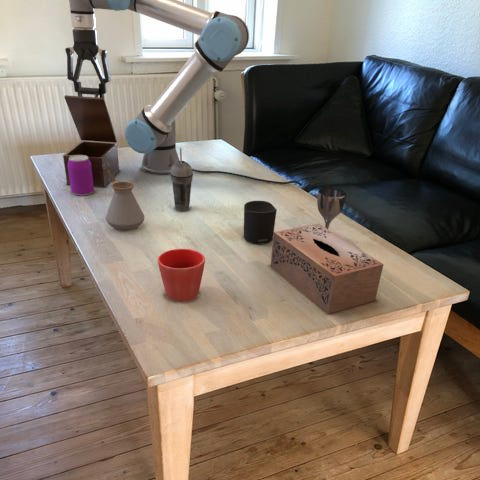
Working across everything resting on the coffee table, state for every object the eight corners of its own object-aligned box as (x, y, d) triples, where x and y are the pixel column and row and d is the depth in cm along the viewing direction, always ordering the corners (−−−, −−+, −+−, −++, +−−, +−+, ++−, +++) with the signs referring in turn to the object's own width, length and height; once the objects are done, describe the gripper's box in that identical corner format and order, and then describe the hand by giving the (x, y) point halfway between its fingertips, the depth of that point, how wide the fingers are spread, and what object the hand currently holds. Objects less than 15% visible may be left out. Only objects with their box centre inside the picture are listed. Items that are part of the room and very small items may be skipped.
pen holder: (237, 241, 150) (239, 209, 145) (249, 229, 157) (251, 198, 152) (267, 247, 147) (270, 215, 142) (278, 235, 155) (281, 204, 149)
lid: (103, 99, 173) (107, 84, 176) (64, 97, 174) (68, 82, 177) (116, 142, 192) (120, 128, 195) (81, 140, 192) (84, 126, 195)
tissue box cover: (375, 300, 126) (383, 264, 120) (328, 313, 120) (334, 276, 114) (314, 256, 144) (318, 223, 139) (270, 266, 138) (273, 232, 133)
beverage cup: (195, 205, 172) (195, 144, 161) (191, 213, 166) (190, 151, 155) (173, 203, 172) (172, 143, 161) (169, 211, 166) (167, 149, 155)
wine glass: (340, 237, 156) (348, 190, 147) (335, 248, 149) (343, 199, 141) (314, 233, 158) (321, 185, 149) (309, 243, 151) (315, 194, 143)
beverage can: (87, 187, 182) (83, 152, 175) (98, 193, 177) (94, 158, 170) (67, 191, 177) (62, 156, 170) (78, 198, 172) (73, 162, 166)
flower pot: (160, 283, 128) (158, 247, 122) (204, 283, 129) (204, 248, 124) (158, 305, 119) (156, 268, 114) (205, 305, 120) (205, 268, 115)
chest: (104, 187, 182) (101, 158, 176) (67, 184, 183) (62, 155, 177) (119, 170, 198) (117, 143, 192) (84, 168, 199) (81, 140, 193)
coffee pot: (150, 230, 154) (148, 181, 145) (113, 237, 149) (108, 186, 140) (126, 206, 169) (122, 160, 160) (91, 211, 164) (86, 164, 155)
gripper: (49, 27, 166) (60, 103, 179) (111, 31, 165) (116, 106, 178) (58, 26, 172) (67, 99, 185) (116, 29, 172) (122, 102, 184)
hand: (91, 102), depth 181 cm, fingers closed on lid, 7 cm apart
